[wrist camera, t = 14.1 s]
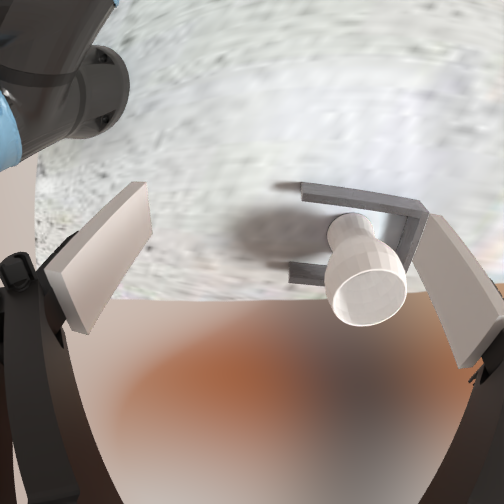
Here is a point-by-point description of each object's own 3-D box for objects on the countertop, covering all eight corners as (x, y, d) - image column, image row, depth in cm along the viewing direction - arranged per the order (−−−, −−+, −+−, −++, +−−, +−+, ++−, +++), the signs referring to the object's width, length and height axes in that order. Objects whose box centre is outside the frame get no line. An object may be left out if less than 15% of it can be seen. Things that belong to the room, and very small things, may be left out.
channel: (288, 267, 50) (288, 282, 47) (301, 182, 41) (302, 192, 38) (392, 277, 49) (397, 292, 46) (419, 200, 40) (429, 212, 37)
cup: (352, 271, 49) (368, 338, 37) (304, 240, 47) (309, 308, 34) (394, 228, 44) (426, 290, 31) (346, 191, 41) (371, 248, 29)
